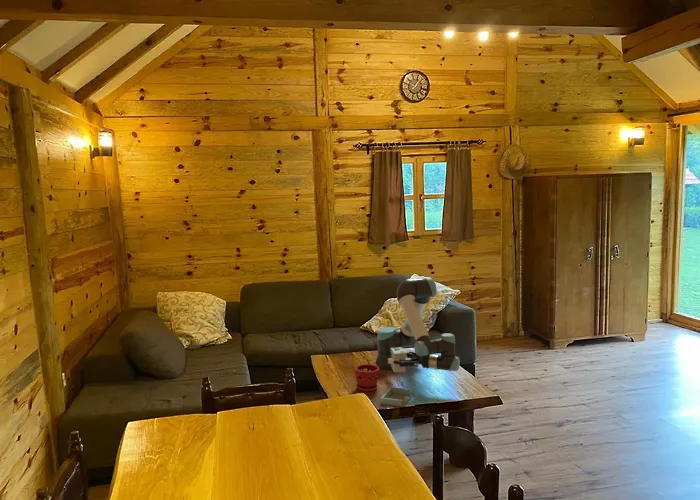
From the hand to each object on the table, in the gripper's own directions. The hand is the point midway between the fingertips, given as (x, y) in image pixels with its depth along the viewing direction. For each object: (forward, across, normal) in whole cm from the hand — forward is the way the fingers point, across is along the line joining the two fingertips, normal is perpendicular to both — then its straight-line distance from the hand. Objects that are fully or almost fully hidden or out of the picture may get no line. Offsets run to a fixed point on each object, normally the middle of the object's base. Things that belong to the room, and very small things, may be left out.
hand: (391, 357), depth 285 cm
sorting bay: (-9, -19, -16) cm, 26 cm away
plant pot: (+11, -9, -16) cm, 22 cm away
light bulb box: (-4, 0, -6) cm, 7 cm away
